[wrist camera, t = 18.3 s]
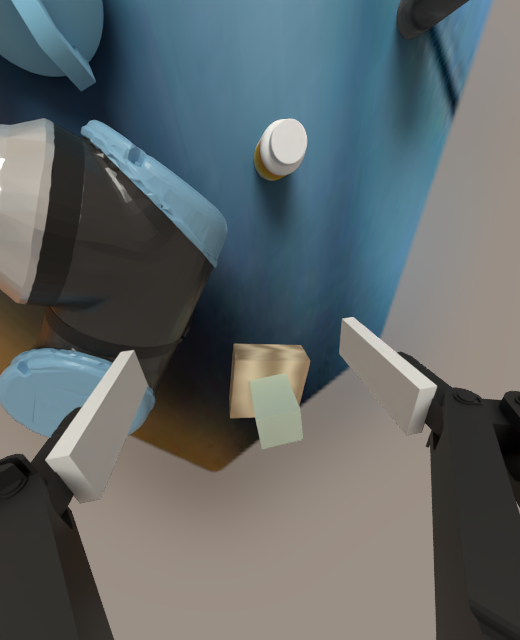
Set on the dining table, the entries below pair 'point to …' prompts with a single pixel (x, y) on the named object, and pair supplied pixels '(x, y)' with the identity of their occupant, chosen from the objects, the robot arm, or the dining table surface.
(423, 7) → the beverage cup
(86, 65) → the teapot
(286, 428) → the sage block
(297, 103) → the dining table surface
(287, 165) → the supplement bottle
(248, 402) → the maple block
